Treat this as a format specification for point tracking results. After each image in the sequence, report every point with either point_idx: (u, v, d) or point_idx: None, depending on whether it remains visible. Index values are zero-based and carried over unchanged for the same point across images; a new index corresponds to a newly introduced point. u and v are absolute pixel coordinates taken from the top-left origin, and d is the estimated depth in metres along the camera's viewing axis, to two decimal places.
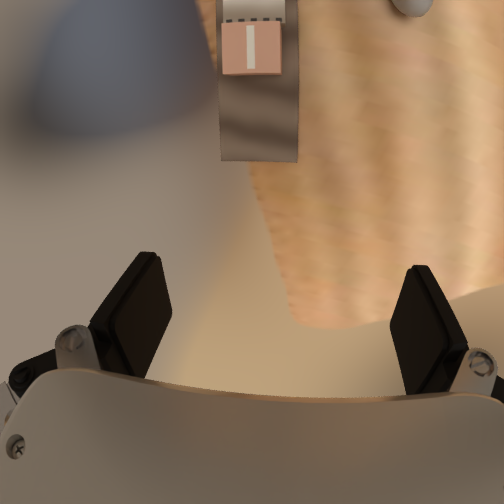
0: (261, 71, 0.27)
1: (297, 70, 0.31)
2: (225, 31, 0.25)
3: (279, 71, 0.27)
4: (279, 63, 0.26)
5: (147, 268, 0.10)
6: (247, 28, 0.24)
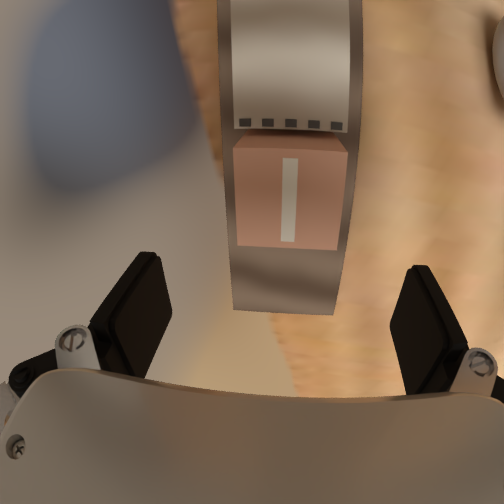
0: (304, 246, 0.18)
1: (351, 200, 0.22)
2: (241, 166, 0.16)
3: (335, 248, 0.18)
4: (337, 235, 0.17)
5: (147, 268, 0.10)
6: (284, 163, 0.15)
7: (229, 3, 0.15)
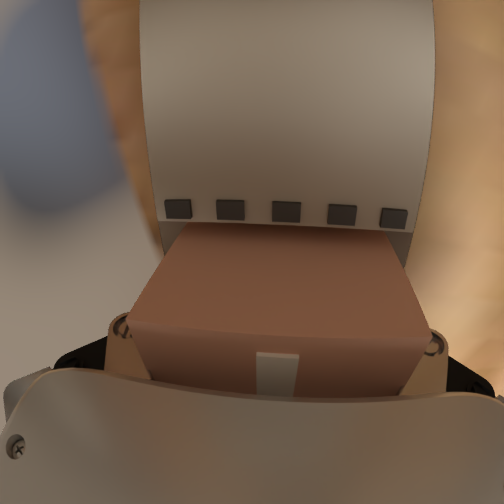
0: None
1: None
2: (155, 356, 0.06)
3: None
4: None
5: None
6: (262, 362, 0.06)
7: None
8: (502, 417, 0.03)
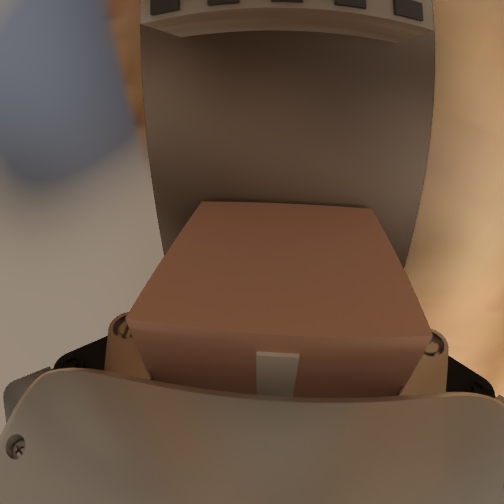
0: None
1: (416, 206, 0.10)
2: (155, 355, 0.06)
3: None
4: None
5: None
6: (262, 361, 0.06)
7: None
8: (502, 417, 0.03)
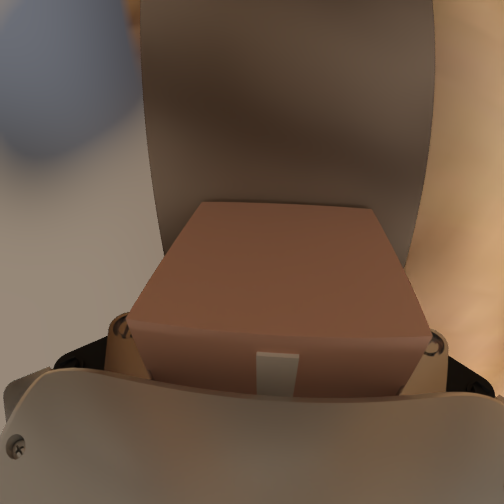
0: None
1: (430, 91, 0.08)
2: (155, 355, 0.06)
3: None
4: None
5: None
6: (262, 362, 0.06)
7: None
8: (502, 417, 0.03)
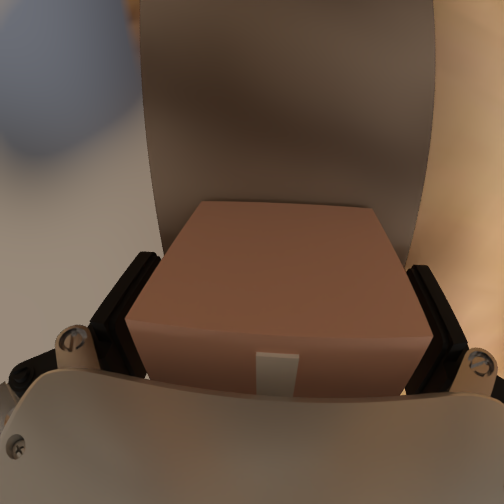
0: None
1: (431, 85, 0.08)
2: (154, 355, 0.06)
3: None
4: None
5: (147, 268, 0.10)
6: (262, 362, 0.06)
7: None
8: (502, 417, 0.03)
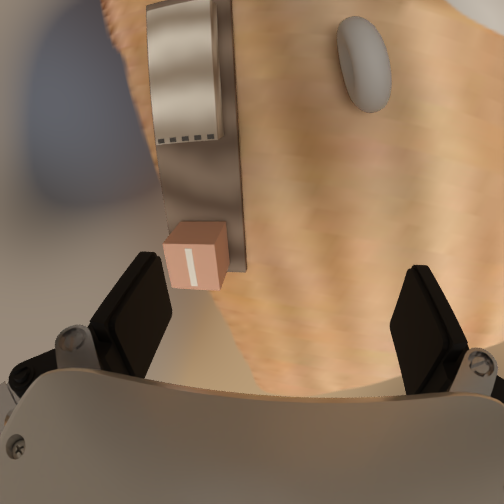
0: (203, 288, 0.35)
1: (238, 184, 0.35)
2: (167, 252, 0.33)
3: (218, 289, 0.35)
4: (218, 283, 0.34)
5: (147, 268, 0.10)
6: (186, 250, 0.33)
7: None
8: (502, 417, 0.03)
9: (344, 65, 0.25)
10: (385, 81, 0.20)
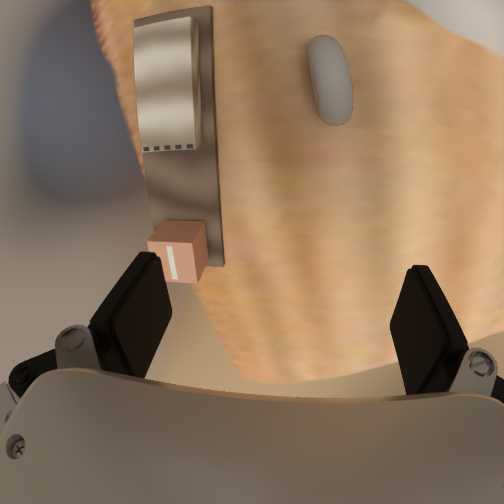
0: (183, 281, 0.39)
1: (216, 187, 0.38)
2: (151, 248, 0.37)
3: (196, 282, 0.38)
4: (195, 277, 0.38)
5: (147, 268, 0.10)
6: (167, 247, 0.36)
7: None
8: (502, 417, 0.03)
9: (313, 79, 0.28)
10: (345, 99, 0.23)
